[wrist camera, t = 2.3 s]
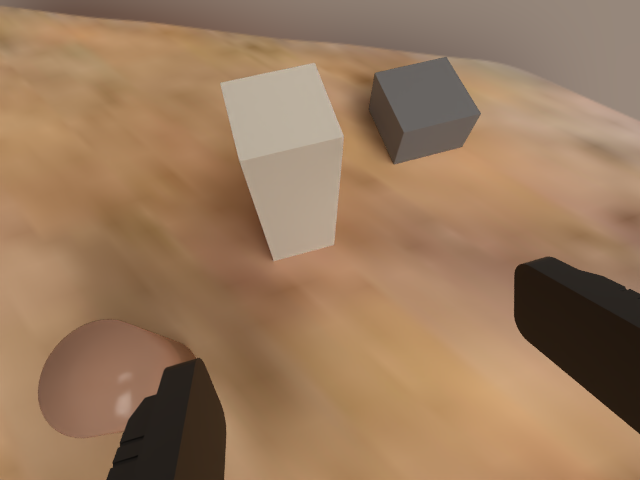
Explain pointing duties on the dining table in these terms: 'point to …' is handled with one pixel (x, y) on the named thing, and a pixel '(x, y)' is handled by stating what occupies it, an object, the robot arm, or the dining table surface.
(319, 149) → the tall cream block
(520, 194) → the dining table surface
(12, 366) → the dining table surface
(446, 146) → the grey squat block
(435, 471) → the dining table surface
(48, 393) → the pink rounded pebble
